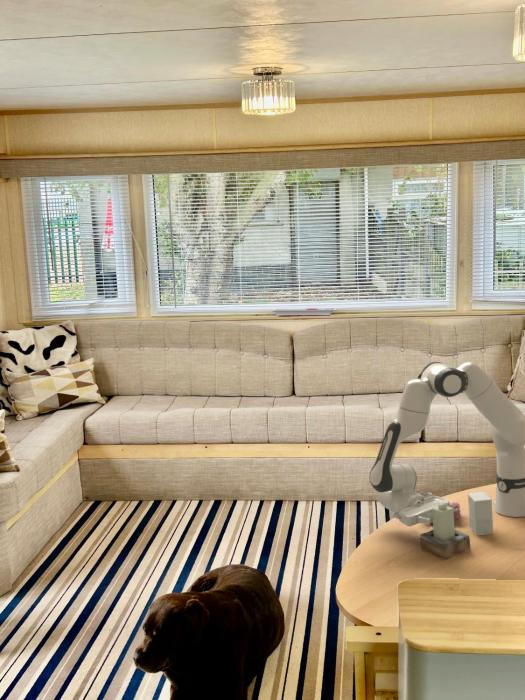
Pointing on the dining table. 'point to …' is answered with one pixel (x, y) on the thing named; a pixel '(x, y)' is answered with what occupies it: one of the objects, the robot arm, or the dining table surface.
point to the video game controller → (456, 510)
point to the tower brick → (443, 522)
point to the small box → (480, 513)
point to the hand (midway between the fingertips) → (440, 518)
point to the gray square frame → (444, 544)
